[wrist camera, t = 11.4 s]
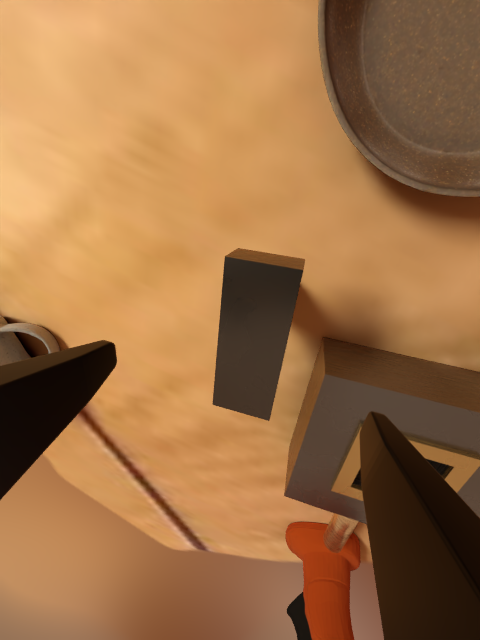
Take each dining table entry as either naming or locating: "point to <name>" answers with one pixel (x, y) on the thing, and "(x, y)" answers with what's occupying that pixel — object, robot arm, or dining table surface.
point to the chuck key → (254, 328)
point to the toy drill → (322, 584)
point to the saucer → (407, 87)
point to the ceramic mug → (7, 348)
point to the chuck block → (401, 409)
